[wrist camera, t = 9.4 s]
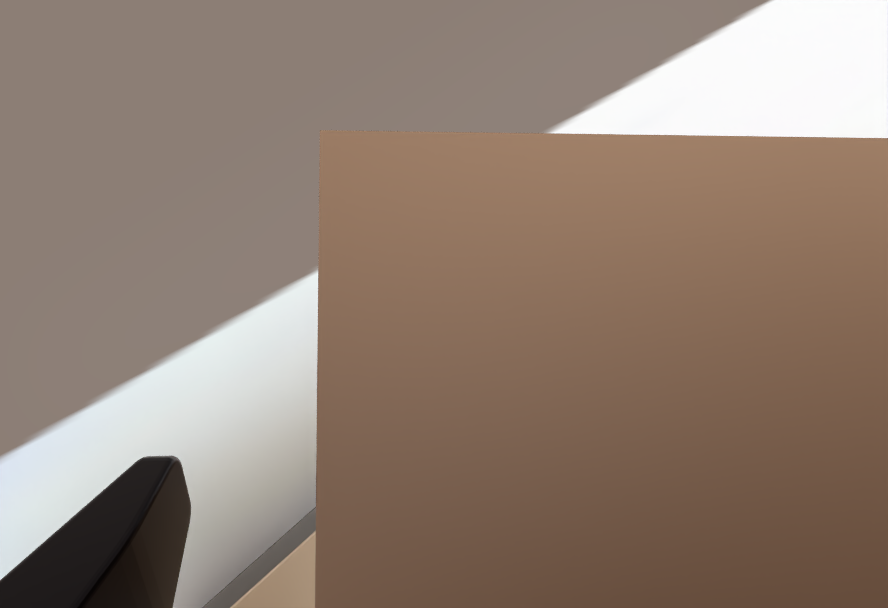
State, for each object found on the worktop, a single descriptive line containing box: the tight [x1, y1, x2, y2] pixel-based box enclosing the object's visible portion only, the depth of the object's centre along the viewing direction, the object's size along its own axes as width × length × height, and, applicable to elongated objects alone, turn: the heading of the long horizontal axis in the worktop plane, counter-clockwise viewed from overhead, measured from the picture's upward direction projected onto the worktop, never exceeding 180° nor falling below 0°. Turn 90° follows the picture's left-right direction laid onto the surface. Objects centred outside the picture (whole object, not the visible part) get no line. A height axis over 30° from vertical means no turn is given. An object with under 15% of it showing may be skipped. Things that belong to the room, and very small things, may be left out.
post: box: [315, 130, 888, 608], centre depth 9 cm, size 4×4×13 cm
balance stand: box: [203, 507, 316, 608], centre depth 17 cm, size 10×16×4 cm, turn 131°
